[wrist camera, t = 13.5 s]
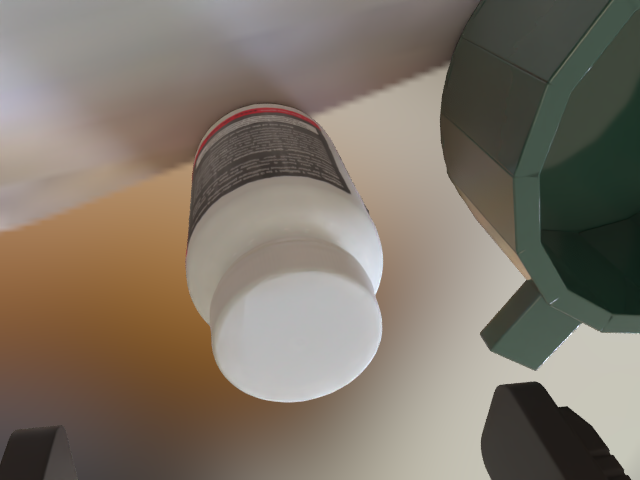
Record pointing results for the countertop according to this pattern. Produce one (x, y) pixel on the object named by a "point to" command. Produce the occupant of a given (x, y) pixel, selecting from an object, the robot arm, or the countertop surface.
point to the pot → (551, 162)
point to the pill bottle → (282, 256)
